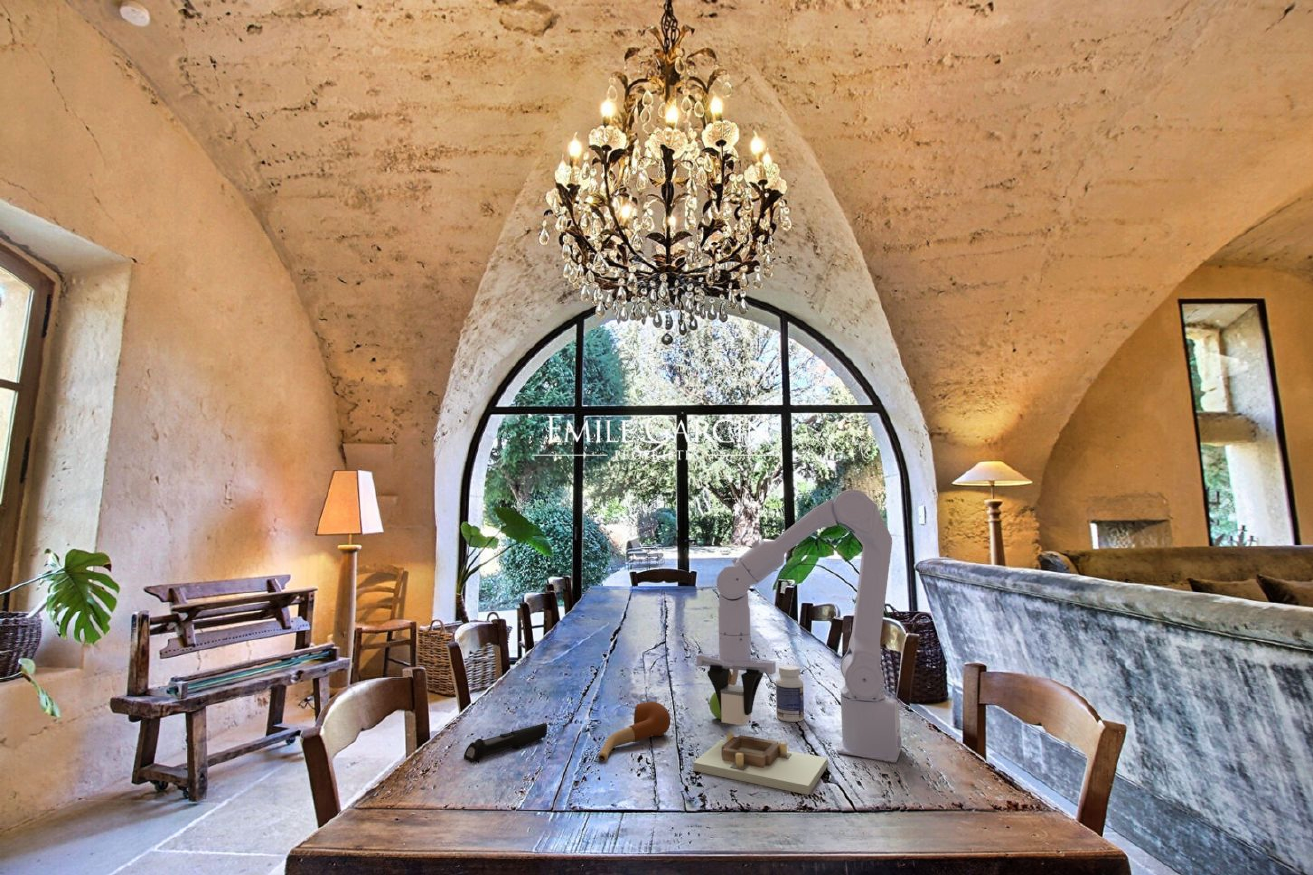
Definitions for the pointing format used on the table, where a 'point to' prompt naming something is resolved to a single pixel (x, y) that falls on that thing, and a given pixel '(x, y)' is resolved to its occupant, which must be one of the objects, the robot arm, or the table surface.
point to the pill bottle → (789, 694)
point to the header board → (766, 768)
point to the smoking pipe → (639, 727)
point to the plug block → (733, 705)
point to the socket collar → (748, 757)
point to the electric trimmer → (504, 742)
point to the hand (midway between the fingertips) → (736, 711)
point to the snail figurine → (714, 700)
